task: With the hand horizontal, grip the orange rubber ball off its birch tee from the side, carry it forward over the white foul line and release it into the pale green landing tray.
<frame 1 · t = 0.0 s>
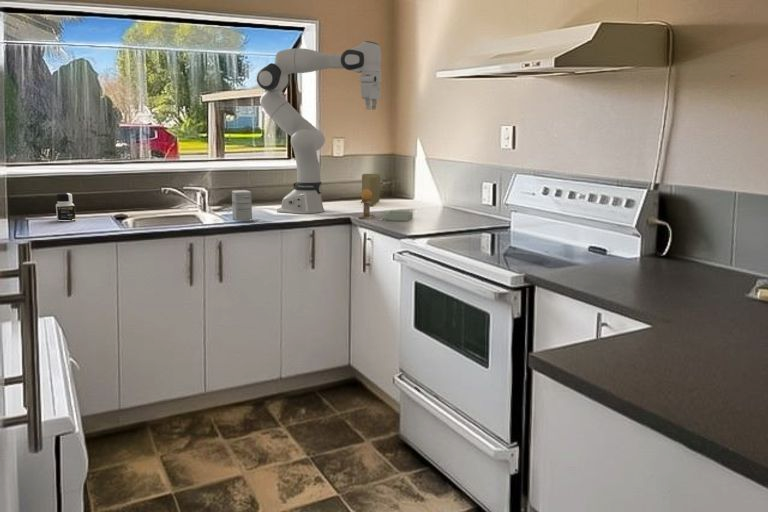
hand: (371, 109, 339), 48 cm above the worktop, tool pointing down, fingers open, 8 cm apart
khaki rectangular block: (371, 204, 385), on the worktop
ball: (366, 200, 334), point 8 cm above the worktop, touching tee
foul line: (382, 218, 334), on the worktop
medicine bottle: (66, 221, 324), on the worktop
tray: (398, 219, 332), on the worktop
tee: (366, 217, 336), on the worktop
supplement box: (242, 219, 330), on the worktop
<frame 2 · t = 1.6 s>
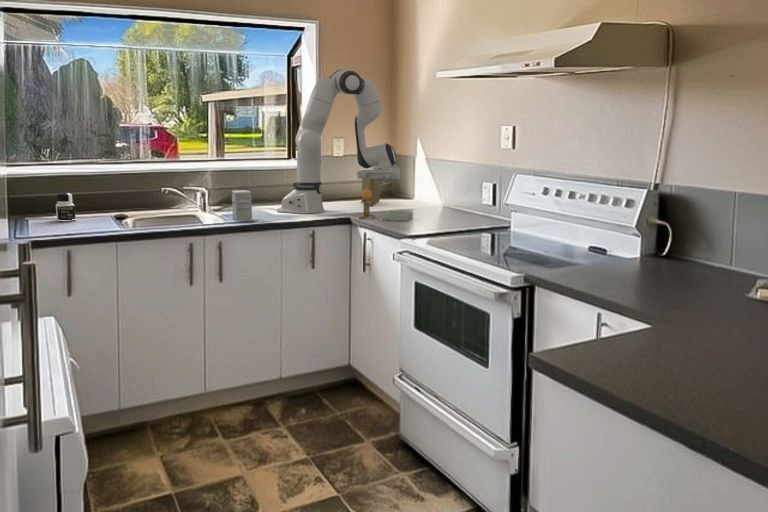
hand: (374, 176, 345), 18 cm above the worktop, tool horizontal, fingers open, 8 cm apart
nothing on the worktop moved.
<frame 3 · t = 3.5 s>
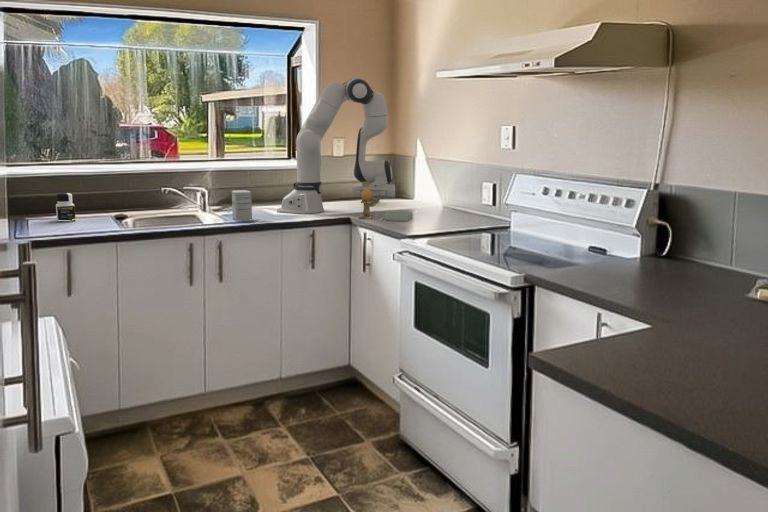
hand: (369, 193, 339), 10 cm above the worktop, tool horizontal, fingers open, 8 cm apart
nothing on the worktop moved.
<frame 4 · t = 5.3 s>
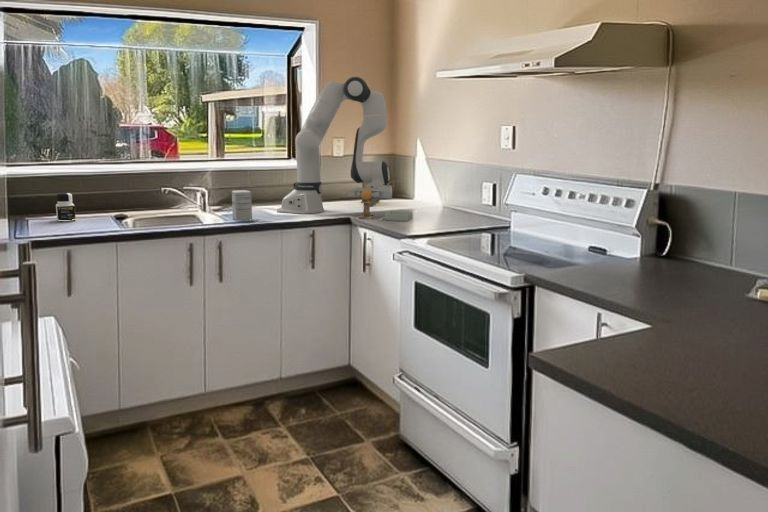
hand: (366, 194, 333), 11 cm above the worktop, tool horizontal, fingers closed on ball, 5 cm apart
ball: (366, 200, 334), point 8 cm above the worktop, touching gripper, tee
everything else where it was.
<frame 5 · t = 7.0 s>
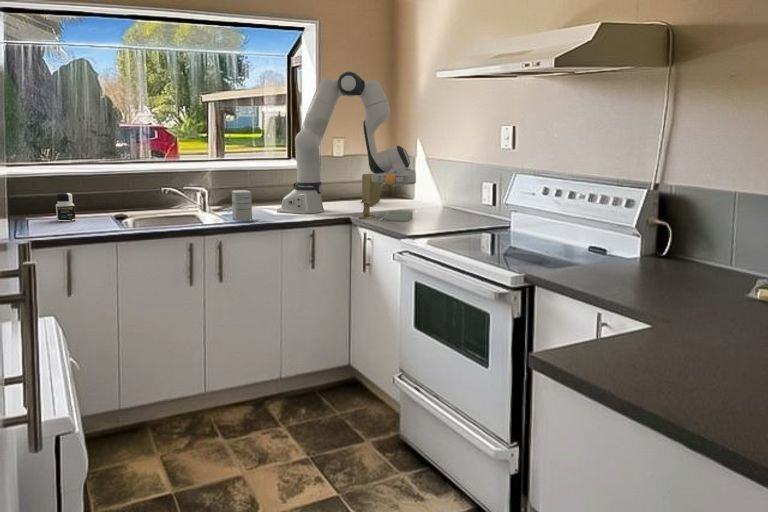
hand: (390, 179, 329), 18 cm above the worktop, tool horizontal, fingers closed on ball, 5 cm apart
ball: (390, 184, 330), point 15 cm above the worktop, touching gripper
everything else where it was.
when the fingers open (7 cm above the worktop, at t = 8.9 s): ball drops 4 cm, resting on tray.
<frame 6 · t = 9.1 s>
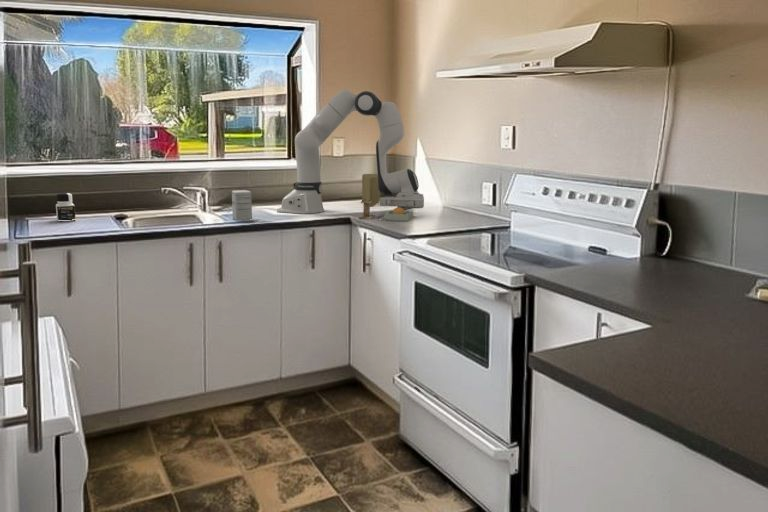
hand: (398, 204, 330), 7 cm above the worktop, tool horizontal, fingers open, 7 cm apart
ball: (398, 218, 332), resting on tray
everything else where it was.
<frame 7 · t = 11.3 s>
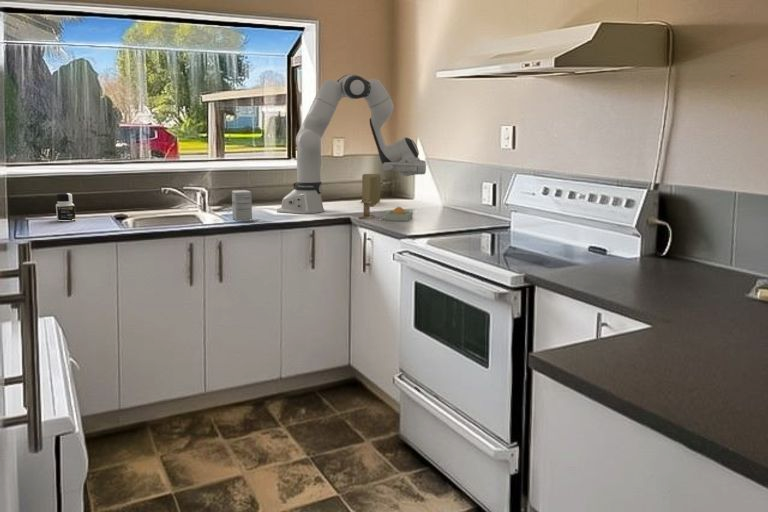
hand: (401, 168, 342), 21 cm above the worktop, tool horizontal, fingers open, 8 cm apart
nothing on the worktop moved.
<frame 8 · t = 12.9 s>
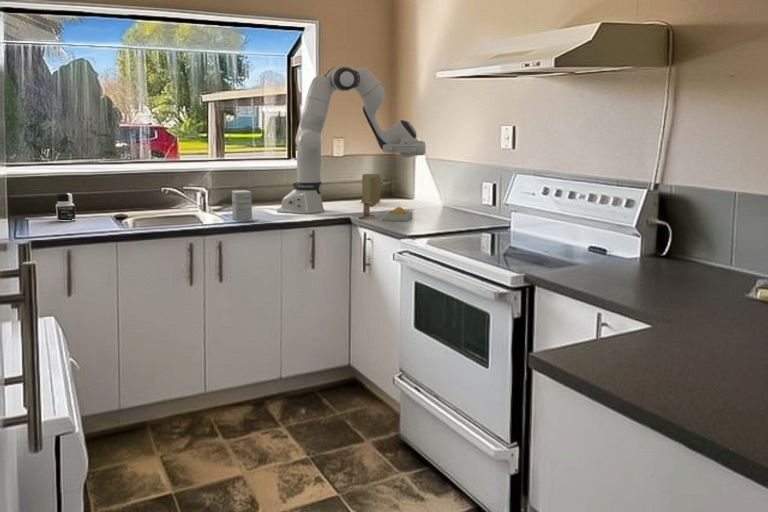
hand: (401, 149, 342), 30 cm above the worktop, tool horizontal, fingers open, 8 cm apart
at the end: ball inside the target area on the tray (0.0 cm from its centre), point 0.5 cm above the tray's base; ball inside the target area (8.3 cm from its centre), point 0.5 cm above the worktop; the gripper is holding nothing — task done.
